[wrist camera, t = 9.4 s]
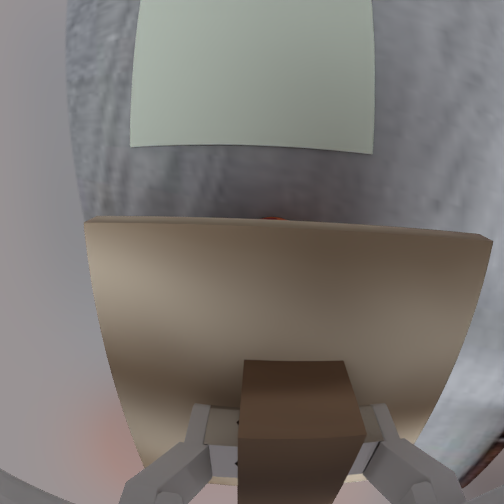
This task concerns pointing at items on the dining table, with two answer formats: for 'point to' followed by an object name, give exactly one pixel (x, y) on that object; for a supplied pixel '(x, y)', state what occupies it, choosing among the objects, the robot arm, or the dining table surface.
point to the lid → (280, 335)
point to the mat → (254, 74)
